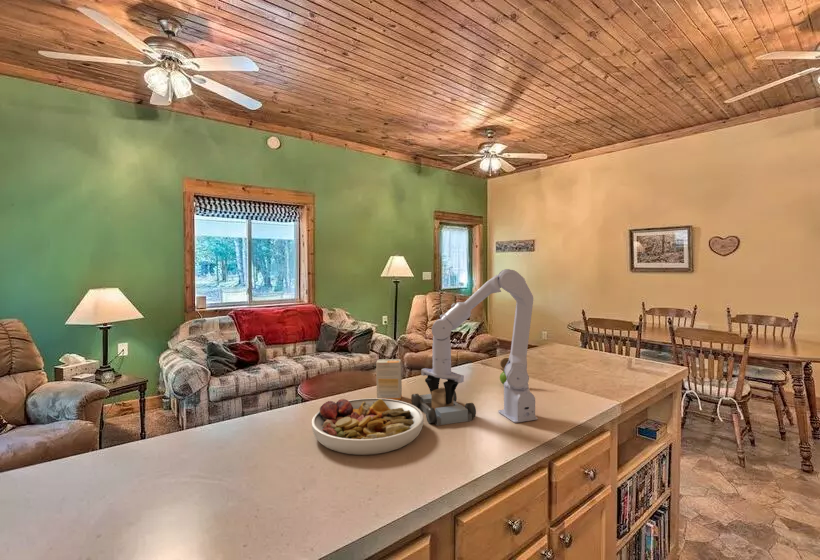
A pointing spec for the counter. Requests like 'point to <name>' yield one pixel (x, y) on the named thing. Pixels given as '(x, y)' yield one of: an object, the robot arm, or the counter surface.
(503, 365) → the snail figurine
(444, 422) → the car chassis
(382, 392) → the supplement box
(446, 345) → the robot arm
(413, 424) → the bowl
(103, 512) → the counter surface
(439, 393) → the engine block
